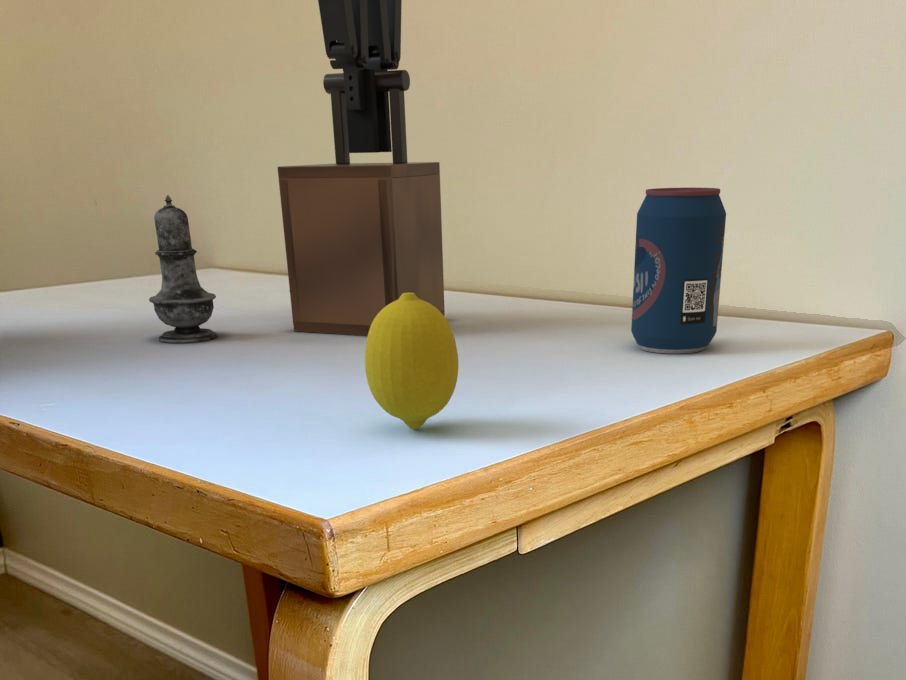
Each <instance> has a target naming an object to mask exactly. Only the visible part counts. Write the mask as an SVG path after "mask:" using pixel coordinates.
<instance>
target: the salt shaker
mask: <svg viewBox="0 0 906 680" xmlns="http://www.w3.org/2000/svg"><path fill="white" fill-rule="evenodd" d="M172 201H173V199H172V197H171V196H170V195H169V194H166V197H165V199H164V202H165V205H164V206H163V207H162V208H159V209H158V210H157V211H155V214H154V217H153V218H154V226H155V232H156V239H157V245H158V250H156V251H155V252H154V254H155V255H156V256H157V257H158V258H159V265H160V270H161V286H160V287H161V288H160V290H159V291H158V292H157V294H156V295H152V296H150V297H149V298H148V301H149V302H150V303H152V304H153V310H154V312H155V314H156V316H157V317H158V319H159V320H160V321H161V322H162V323H163V324H164V325H166V326H170V327H173V328H174V329H170V330H167V331H164V332H163V333H162V334H161V335H160V336H159V337H158V341H159V342H161V343H168V344H169V343H170V344H187V343H188V344H189V343H199V342H206V341H210V340H214V339H217V338H218V336H219V335H218V333H217V332H215V331H213V330H212V329H210V328H203V327H200V326H201V325H203V324H205V323H207V322H208V321H209V320H210V319H211V317H212V315H213V311H214V300H215V299H216V298H217V295H216V294H215V293H213V292H208V291H207V290H206V289H204V288H203V287H202V286H201V283H200V281H199V278H198V274H197V268H196V261H195V255H196V254H197V253H198V251H197V249H195V248H193V246H192V238H191V237H192V236H191V231H190V224H189V223H190V222H189V218H188V215H187V213H186V212H185V210H183V209H182V208H179V207H176V205H173V204H172Z"/></svg>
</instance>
